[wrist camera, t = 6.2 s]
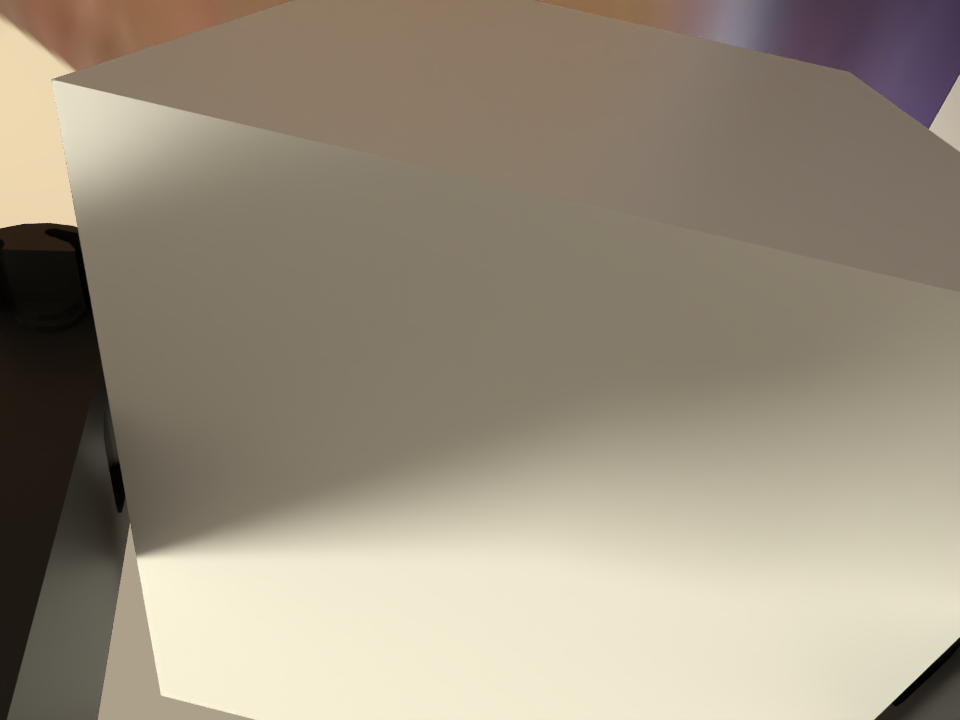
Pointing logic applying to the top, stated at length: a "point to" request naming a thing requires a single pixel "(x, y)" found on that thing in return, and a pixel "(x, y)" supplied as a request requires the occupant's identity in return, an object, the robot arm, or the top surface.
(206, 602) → the cover
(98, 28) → the top surface
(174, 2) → the top surface
